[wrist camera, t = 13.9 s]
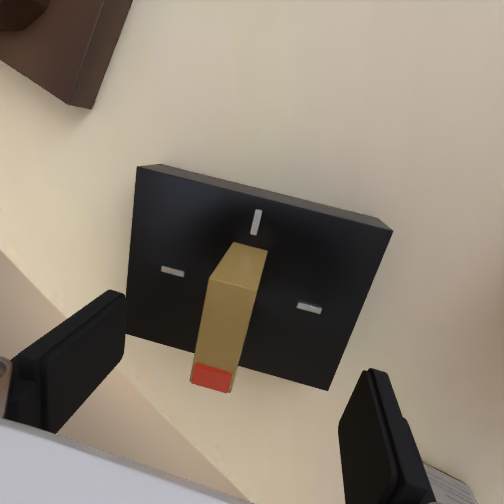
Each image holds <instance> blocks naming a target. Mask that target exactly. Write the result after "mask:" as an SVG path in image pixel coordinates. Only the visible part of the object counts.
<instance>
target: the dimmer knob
mask: <svg viewBox="0 0 504 504" xmlns="http://www.w3.org/2000/svg"><path fill="white" fill-rule="evenodd" d="M266 256H267V251H266V250H263V249H259V248H255V247H251V246H247V245H243V244H239V243H235V242H233V243H232V245H231V246H230V248H229V249H228V251H227V252H226V254H225V255H224V257H223V258H222V260H221V261H220V263H219V264H218V266H217V267H216V269H215V270H214V271H213V273H212V274H211V276H210V277H209V281H208V286H207V291H206V297H205V302H204V307H203V312H202V318H201V323H200V328H199V333H198V339H197V344H196V349H195V354H194V360H193V365H192V370H191V375H190V382H191V383H193V384H196V385H200V386H203V387H206V388H210V389H213V390H217V391H220V392H224V393H227V392H228V393H230V392H231V390H232V386H233V382H234V378H235V375H236V371H237V367H238V363H239V360H240V356H241V352H242V348H243V345H244V341H245V337H246V333H247V329H248V326H249V322H250V318H251V314H252V310H253V306H254V302H255V298H256V295H257V291H258V287H259V283H260V279H261V275H262V271H263V267H264V264H265V260H266Z"/></svg>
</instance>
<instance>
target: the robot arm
mask: <svg viewBox="0 0 504 504" xmlns="http://www.w3.org/2000/svg"><path fill="white" fill-rule="evenodd" d="M127 309H128V299H127V298H125V295H124V294H123V293H120V292H117V291H113V290H107V291H106V292H105V293H103V294H102V295H100V296H99V297H97V298H96V299H95V300H93V301H92V302H90V303H89V304H88V305H86V306H85V307H83V308H82V309H81V310H79V311H78V312H76V313H75V314H74V315H72V316H71V317H69V318H68V319H67V320H65V321H64V322H62V323H61V324H60V325H58V326H57V327H55V328H54V329H52V330H51V331H50V332H48V333H47V334H45V335H44V336H43V337H41V338H40V339H39V340H37V341H36V342H34V343H33V344H31V345H30V346H29V347H27V348H26V349H24V350H23V351H21V352H20V353H19V354H18V355H17V356H15V357H14V358H13V359H11V360H9V359H7V358H5V357H1V356H0V504H253V503H251V502H248V501H245V500H242V499H239V498H237V497H234V496H231V495H228V494H226V493H223V492H220V491H217V490H214V489H211V488H208V487H206V486H203V485H200V484H197V483H195V482H192V481H189V480H186V479H183V478H180V477H178V476H175V475H172V474H169V473H166V472H163V471H161V470H158V469H155V468H152V467H149V466H146V465H143V464H140V463H138V462H135V461H132V460H129V459H126V458H124V457H121V456H117V455H115V454H112V453H109V452H106V451H103V450H100V449H98V448H94V447H92V446H89V445H86V444H83V443H80V442H77V441H74V440H71V439H69V438H66V437H63V436H59V435H56V433H57V432H58V431H59V430H60V428H62V426H63V425H64V424H65V423H66V422H67V421H68V419H69V418H70V417H71V416H72V415H73V414H74V413H75V412H76V411H77V409H78V408H79V407H80V406H81V405H82V404H83V403H84V401H85V400H86V399H87V398H88V397H89V396H90V395H91V394H92V392H93V391H94V390H95V389H96V388H97V387H98V385H99V384H100V383H101V382H102V381H103V380H104V379H105V378H106V377H107V375H108V374H109V373H110V372H111V371H112V370H113V369H114V367H115V366H116V365H117V364H118V363H119V362H120V360H121V359H122V357H123V354H124V346H125V334H126V321H127ZM338 436H339V445H340V455H341V464H342V474H343V483H344V493H345V503H346V504H441V503H437V501H436V498H435V496H434V493H433V490H432V487H431V484H430V482H429V479H428V476H427V473H426V471H425V468H424V465H423V462H422V460H421V457H420V454H419V451H418V449H417V446H416V443H415V440H414V438H413V435H412V432H411V429H410V427H409V424H408V422H407V420H406V419H405V418H403V417H402V414H401V411H400V408H399V405H398V402H397V400H396V397H395V394H394V391H393V388H392V385H391V382H390V380H389V377H388V374H387V373H386V372H383V371H379V370H376V369H373V368H369V369H368V371H365V370H364V371H363V372H362V373H361V376H360V378H359V380H358V382H357V384H356V387H355V389H354V391H353V393H352V395H351V397H350V400H349V402H348V404H347V406H346V408H345V410H344V413H343V415H342V417H341V419H340V422H339V426H338Z"/></svg>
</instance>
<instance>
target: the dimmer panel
mask: <svg viewBox="0 0 504 504" xmlns="http://www.w3.org/2000/svg"><path fill="white" fill-rule="evenodd" d="M392 233H393V230H392V229H390V228H389V227H388V226H387V225H386V224H384V223H383V222H382V221H381V220H379V219H378V218H375V217H371V216H367V215H363V214H359V213H355V212H351V211H347V210H343V209H339V208H335V207H331V206H327V205H323V204H319V203H315V202H311V201H307V200H303V199H299V198H295V197H291V196H287V195H283V194H279V193H275V192H271V191H267V190H263V189H259V188H255V187H251V186H247V185H243V184H239V183H235V182H231V181H227V180H222V179H218V178H214V177H210V176H206V175H202V174H198V173H194V172H190V171H186V170H182V169H178V168H174V167H170V166H166V165H162V164H156V165H147V166H137V171H136V182H135V194H134V206H133V218H132V229H131V241H130V253H129V265H128V276H127V288H126V298H127V299H128V309H127V321H126V334H128V335H132V336H135V337H139V338H142V339H146V340H149V341H153V342H156V343H160V344H163V345H167V346H171V347H174V348H178V349H181V350H185V351H188V352H192V353H195V349H196V344H197V339H198V333H199V328H200V323H201V318H202V312H203V307H204V302H205V297H206V291H207V286H208V281H209V277H210V276H211V274H212V273H213V271H214V270H215V269H216V267H217V266H218V264H219V263H220V261H221V260H222V258H223V257H224V255H225V254H226V252H227V251H228V249H229V248H230V246H231V245H232V243H233V242H235V243H239V244H243V245H247V246H251V247H255V248H259V249H263V250H266V251H267V256H266V260H265V264H264V267H263V271H262V275H261V279H260V283H259V287H258V291H257V295H256V298H255V302H254V306H253V310H252V314H251V318H250V322H249V326H248V329H247V333H246V337H245V341H244V345H243V348H242V352H241V356H240V360H239V363H238V366H241V367H245V368H248V369H252V370H255V371H259V372H262V373H266V374H269V375H273V376H276V377H280V378H283V379H287V380H290V381H294V382H298V383H301V384H305V385H308V386H312V387H315V388H319V389H322V390H326V391H328V390H329V387H330V385H331V382H332V380H333V377H334V375H335V372H336V370H337V368H338V365H339V363H340V360H341V358H342V355H343V353H344V350H345V348H346V346H347V343H348V341H349V338H350V336H351V333H352V331H353V328H354V326H355V324H356V321H357V319H358V316H359V314H360V311H361V309H362V306H363V304H364V302H365V299H366V297H367V294H368V292H369V289H370V287H371V284H372V282H373V280H374V277H375V275H376V272H377V270H378V267H379V265H380V262H381V260H382V258H383V255H384V253H385V250H386V248H387V245H388V243H389V240H390V238H391V236H392Z"/></svg>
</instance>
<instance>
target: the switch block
mask: <svg viewBox="0 0 504 504" xmlns="http://www.w3.org/2000/svg"><path fill="white" fill-rule="evenodd" d="M131 2H132V0H0V60H2V61H3V62H5V63H6V64H8V65H9V66H11V67H12V68H14V69H15V70H17V71H18V72H20V73H21V74H23V75H24V76H26V77H27V78H29V79H30V80H32V81H33V82H35V83H36V84H38V85H39V86H41V87H42V88H44V89H45V90H47V91H48V92H50V93H51V94H53V95H54V96H56V97H57V98H59V99H60V100H62V101H63V102H65V103H66V104H68V105H72V106H77V107H82V108H87V109H92V106H93V103H94V101H95V98H96V95H97V93H98V90H99V87H100V85H101V82H102V79H103V77H104V74H105V71H106V69H107V66H108V63H109V61H110V58H111V55H112V53H113V50H114V47H115V45H116V42H117V39H118V37H119V34H120V32H121V29H122V26H123V24H124V21H125V18H126V16H127V13H128V10H129V8H130V5H131Z"/></svg>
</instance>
